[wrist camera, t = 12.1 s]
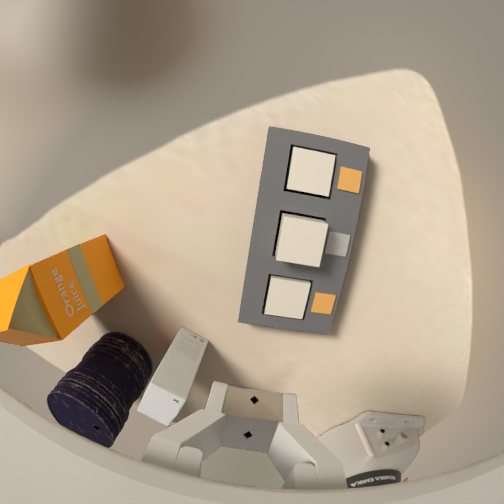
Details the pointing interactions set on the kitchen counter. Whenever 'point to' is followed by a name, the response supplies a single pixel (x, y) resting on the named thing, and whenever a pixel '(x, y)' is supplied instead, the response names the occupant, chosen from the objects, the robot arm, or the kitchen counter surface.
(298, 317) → the far button
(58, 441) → the robot arm
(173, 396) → the skincare box
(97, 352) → the dark blue cylinder
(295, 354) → the kitchen counter surface
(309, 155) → the near button
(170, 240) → the kitchen counter surface
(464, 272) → the kitchen counter surface
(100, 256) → the orange juice
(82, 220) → the kitchen counter surface
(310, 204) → the button panel
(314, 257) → the middle button
